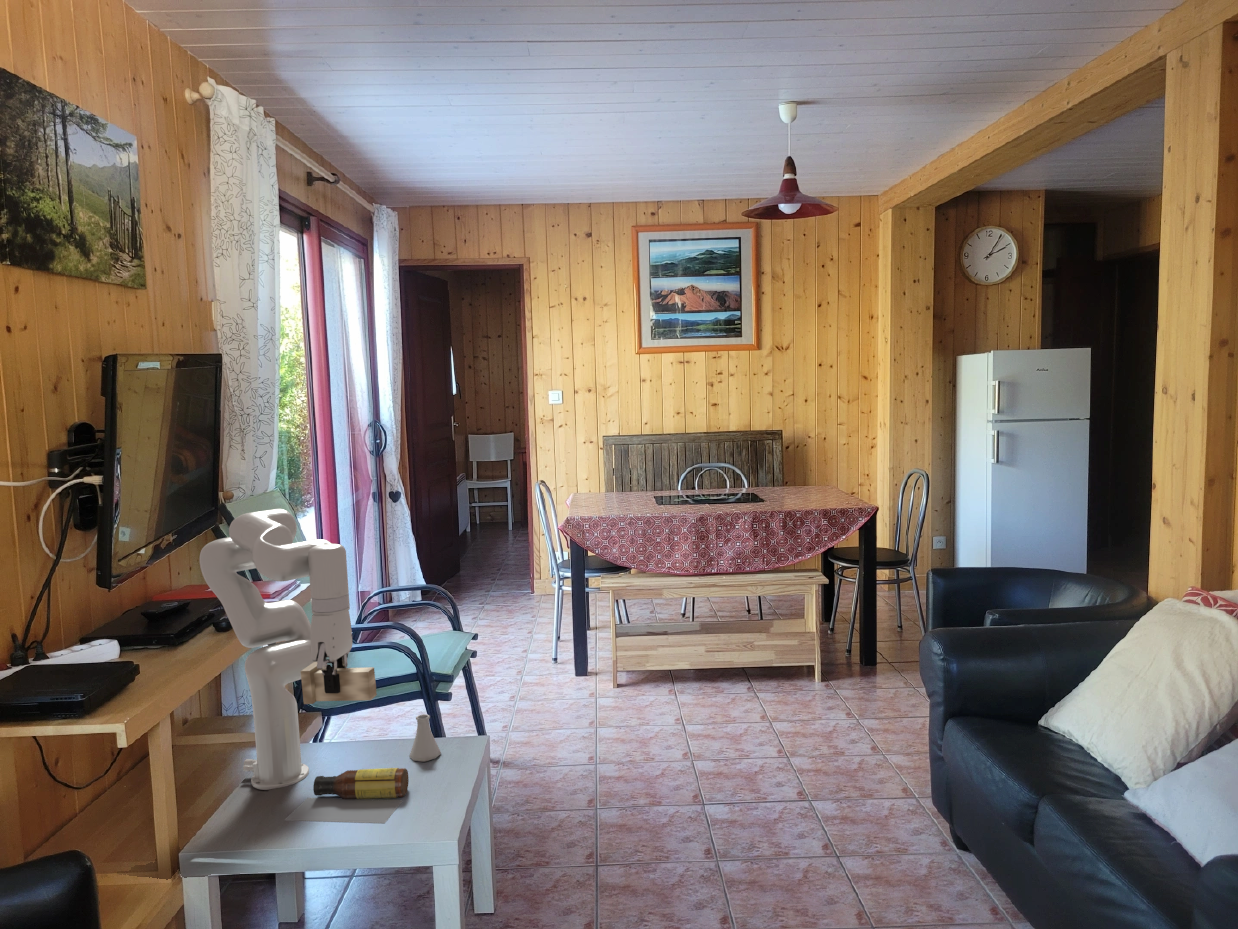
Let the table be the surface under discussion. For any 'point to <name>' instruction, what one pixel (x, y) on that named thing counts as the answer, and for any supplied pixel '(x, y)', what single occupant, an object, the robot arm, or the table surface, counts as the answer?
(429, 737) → the flask
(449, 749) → the table surface
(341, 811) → the mat
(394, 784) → the sauce bottle
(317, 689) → the beige t-shaped block
